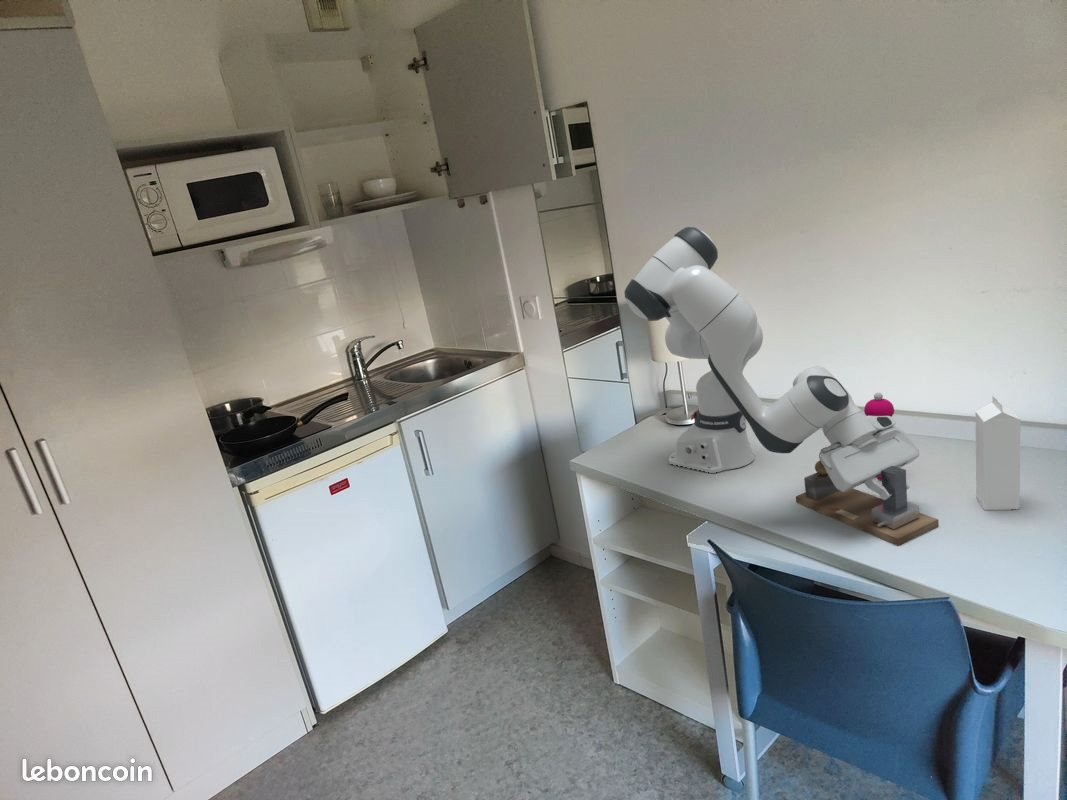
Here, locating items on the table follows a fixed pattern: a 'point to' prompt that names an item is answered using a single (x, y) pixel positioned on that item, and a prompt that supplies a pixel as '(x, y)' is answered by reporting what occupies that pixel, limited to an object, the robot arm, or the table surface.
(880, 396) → the pepper mill
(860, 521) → the base
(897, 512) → the handle
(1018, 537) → the table surface
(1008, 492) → the milk
